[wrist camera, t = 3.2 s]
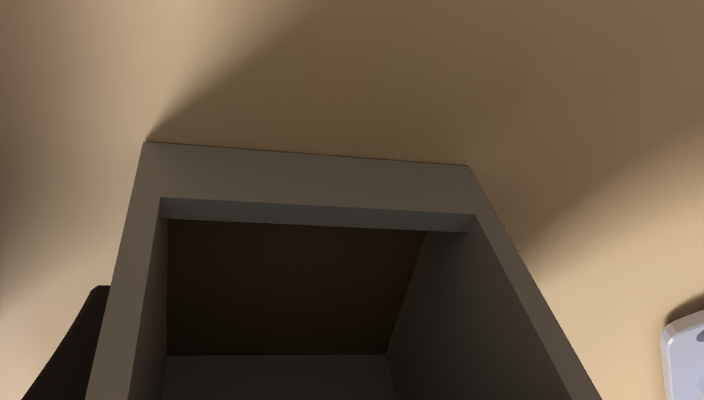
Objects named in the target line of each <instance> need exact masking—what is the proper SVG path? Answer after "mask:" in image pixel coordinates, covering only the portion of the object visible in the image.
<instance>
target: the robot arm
mask: <svg viewBox="0 0 704 400" xmlns="http://www.w3.org/2000/svg"><path fill="white" fill-rule="evenodd" d="M110 287H111V286H103V285H98V286H97V287H95V288H94V289H92V290H91V292H90V294H89V296H88V298H87V300H86V301H85V303H84V305H83V307H82V309H81V310H80V312H79V314H78V316H77V317H76V319H75V321H74V322H73V324H72V326H71V327H70V329H69V331H68V332H67V334H66V335H65V337H64V339H63V340H62V342H61V343H60V345H59V346H58V348H57V349H56V351H55V352H54V354H53V355H52V357H51V358H50V360H49V361H48V363H47V364H46V365H45V367H44V368H43V370H42V371H41V373H40V374H39V375H38V377H37V378H36V380H35V381H34V383H33V384H32V385H31V387H30V388H29V390H28V391H27V393H26V394H25V395H24V397H23V398H22V399H21V400H85V397H86V392H87V388H88V383H89V379H90V375H91V370H92V366H93V361H94V357H95V353H96V348H97V344H98V339H99V335H100V331H101V326H102V322H103V317H104V313H105V309H106V304H107V300H108V295H109V291H110ZM660 348H661V357H662V367H663V376H664V386H665V395H666V400H704V309H703V310H701V311H698V312H695V313H693V314H690V315H687V316H685V317H682V318H680V319H677V320H675V321H673V322H671V323H669V324H668V325H667V326H666V327H664V329H663V330H662V332H661V334H660Z"/></svg>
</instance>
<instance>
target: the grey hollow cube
mask: <svg viewBox="0 0 704 400" xmlns="http://www.w3.org/2000/svg"><path fill="white" fill-rule="evenodd" d="M168 219H187V220H208V221H230V222H251V223H273V224H294V225H316V226H337V227H359V228H380V229H402V230H423V231H427V232H426V235H425V238H424V241H423V244H422V247H421V250H420V253H419V256H418V259H417V262H416V265H415V268H414V271H413V274H412V277H411V280H410V283H409V286H408V289H407V292H406V295H405V298H404V301H403V304H402V307H401V310H400V313H399V316H398V319H397V322H396V325H395V328H394V331H393V334H392V337H391V340H390V343H389V346H388V349H387V352H386V355H254V356H166V326H167V247H168ZM85 400H602V398H601V397H600V395H599V393H598V391H597V390H596V388H595V386H594V384H593V383H592V381H591V379H590V377H589V376H588V374H587V372H586V370H585V369H584V367H583V365H582V363H581V362H580V360H579V358H578V356H577V355H576V353H575V351H574V349H573V348H572V346H571V344H570V342H569V341H568V339H567V337H566V335H565V334H564V332H563V330H562V329H561V327H560V325H559V323H558V322H557V320H556V318H555V316H554V315H553V313H552V311H551V309H550V308H549V306H548V304H547V302H546V301H545V299H544V297H543V295H542V294H541V292H540V290H539V288H538V287H537V285H536V283H535V281H534V280H533V278H532V276H531V274H530V273H529V271H528V269H527V267H526V266H525V264H524V262H523V260H522V259H521V257H520V255H519V253H518V252H517V250H516V248H515V246H514V245H513V243H512V241H511V239H510V238H509V236H508V234H507V232H506V231H505V229H504V227H503V225H502V224H501V222H500V220H499V218H498V217H497V215H496V213H495V211H494V210H493V208H492V206H491V204H490V203H489V201H488V199H487V197H486V196H485V194H484V192H483V191H482V189H481V187H480V185H479V184H478V182H477V180H476V178H475V177H474V175H473V173H472V171H471V170H470V168H469V166H459V165H446V164H433V163H419V162H406V161H393V160H380V159H366V158H353V157H340V156H326V155H313V154H300V153H287V152H273V151H260V150H247V149H234V148H220V147H207V146H194V145H180V144H167V143H154V142H143V146H142V150H141V155H140V159H139V164H138V168H137V172H136V177H135V181H134V186H133V190H132V194H131V199H130V203H129V208H128V212H127V216H126V221H125V225H124V230H123V234H122V238H121V243H120V247H119V252H118V256H117V260H116V265H115V269H114V273H113V278H112V282H111V287H110V291H109V295H108V300H107V304H106V309H105V313H104V317H103V322H102V326H101V331H100V335H99V339H98V344H97V348H96V353H95V357H94V361H93V366H92V370H91V375H90V379H89V383H88V388H87V392H86V397H85Z"/></svg>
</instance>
